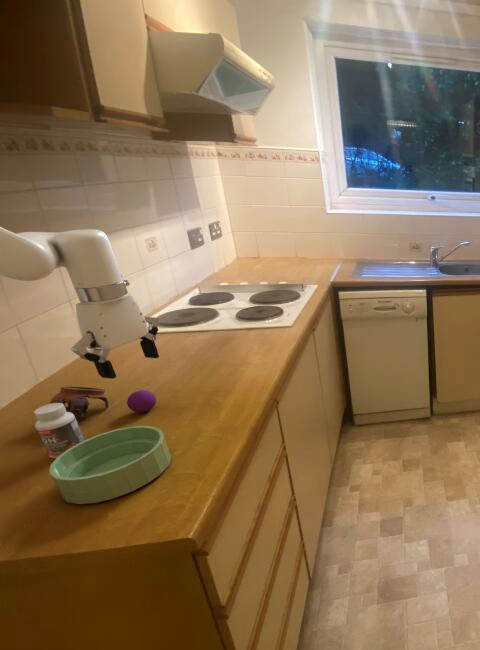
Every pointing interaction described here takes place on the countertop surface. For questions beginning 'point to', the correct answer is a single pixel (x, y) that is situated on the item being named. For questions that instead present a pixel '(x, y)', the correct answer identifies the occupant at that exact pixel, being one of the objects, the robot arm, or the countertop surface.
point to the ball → (141, 401)
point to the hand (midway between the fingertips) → (131, 367)
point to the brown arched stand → (78, 399)
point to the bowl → (110, 464)
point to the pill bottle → (57, 429)
